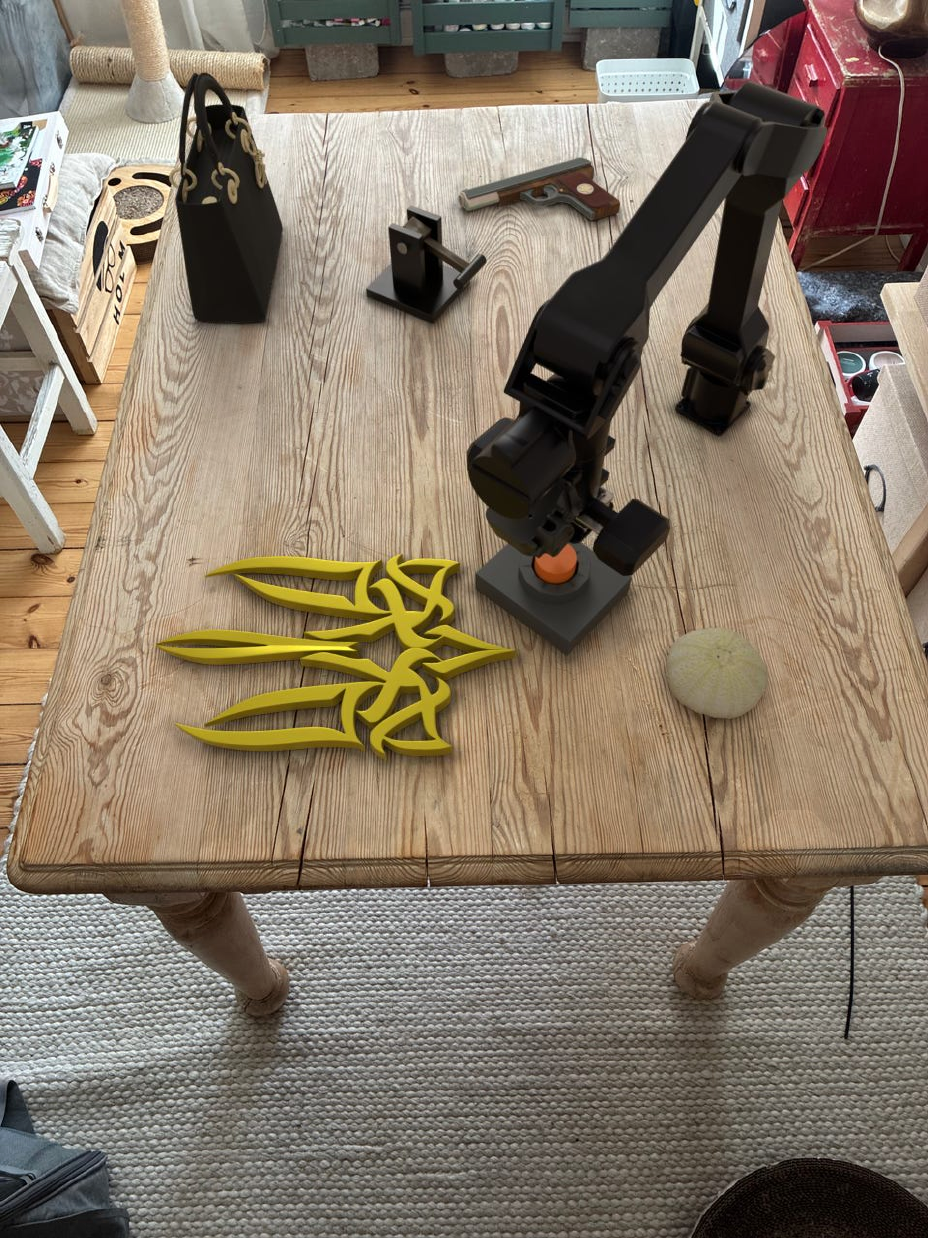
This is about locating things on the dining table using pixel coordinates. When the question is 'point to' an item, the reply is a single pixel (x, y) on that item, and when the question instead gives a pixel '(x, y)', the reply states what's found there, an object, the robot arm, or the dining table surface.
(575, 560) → the button
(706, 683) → the sea urchin shell
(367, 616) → the trident
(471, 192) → the handgun
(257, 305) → the handbag
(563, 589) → the button box
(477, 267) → the lever
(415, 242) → the bracket
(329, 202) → the dining table surface
